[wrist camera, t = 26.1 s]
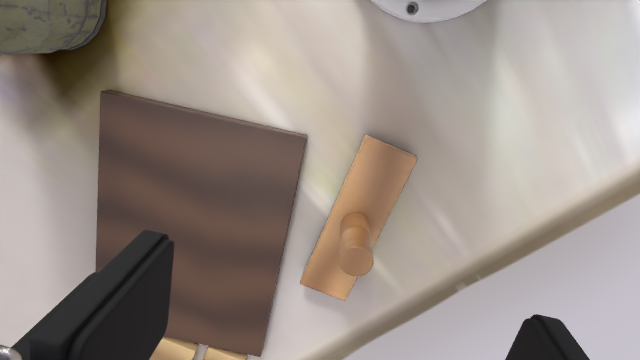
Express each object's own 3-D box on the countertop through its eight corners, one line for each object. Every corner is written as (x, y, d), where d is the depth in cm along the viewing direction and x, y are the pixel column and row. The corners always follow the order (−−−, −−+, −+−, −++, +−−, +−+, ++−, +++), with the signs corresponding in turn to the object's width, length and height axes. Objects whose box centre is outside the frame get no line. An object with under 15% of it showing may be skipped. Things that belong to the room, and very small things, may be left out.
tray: (107, 89, 33) (100, 90, 32) (307, 135, 33) (306, 137, 32) (99, 313, 41) (93, 320, 40) (262, 350, 41) (260, 357, 40)
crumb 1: (162, 330, 41) (157, 337, 40) (198, 344, 41) (195, 351, 40) (152, 358, 42) (147, 365, 41) (187, 371, 43) (184, 379, 42)
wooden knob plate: (302, 270, 38) (290, 328, 30) (364, 131, 33) (369, 158, 25) (345, 287, 38) (344, 348, 30) (413, 151, 33) (432, 184, 26)
